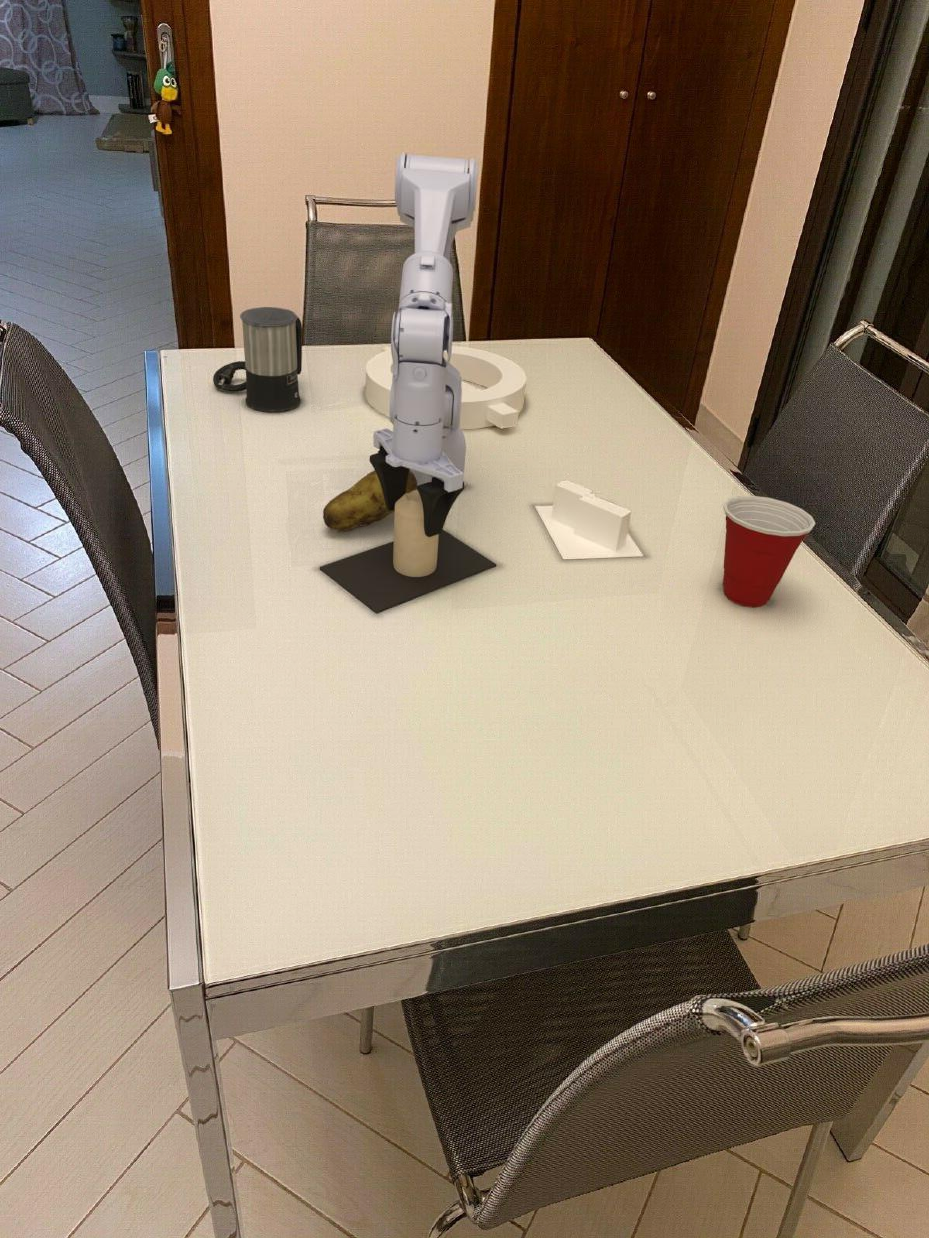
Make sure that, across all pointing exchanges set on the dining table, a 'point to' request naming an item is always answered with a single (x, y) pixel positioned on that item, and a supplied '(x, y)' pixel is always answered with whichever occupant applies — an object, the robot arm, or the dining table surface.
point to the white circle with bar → (462, 386)
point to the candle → (413, 538)
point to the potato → (360, 504)
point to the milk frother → (267, 360)
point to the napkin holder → (587, 524)
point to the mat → (387, 588)
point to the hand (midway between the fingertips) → (413, 521)
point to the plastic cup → (760, 546)
